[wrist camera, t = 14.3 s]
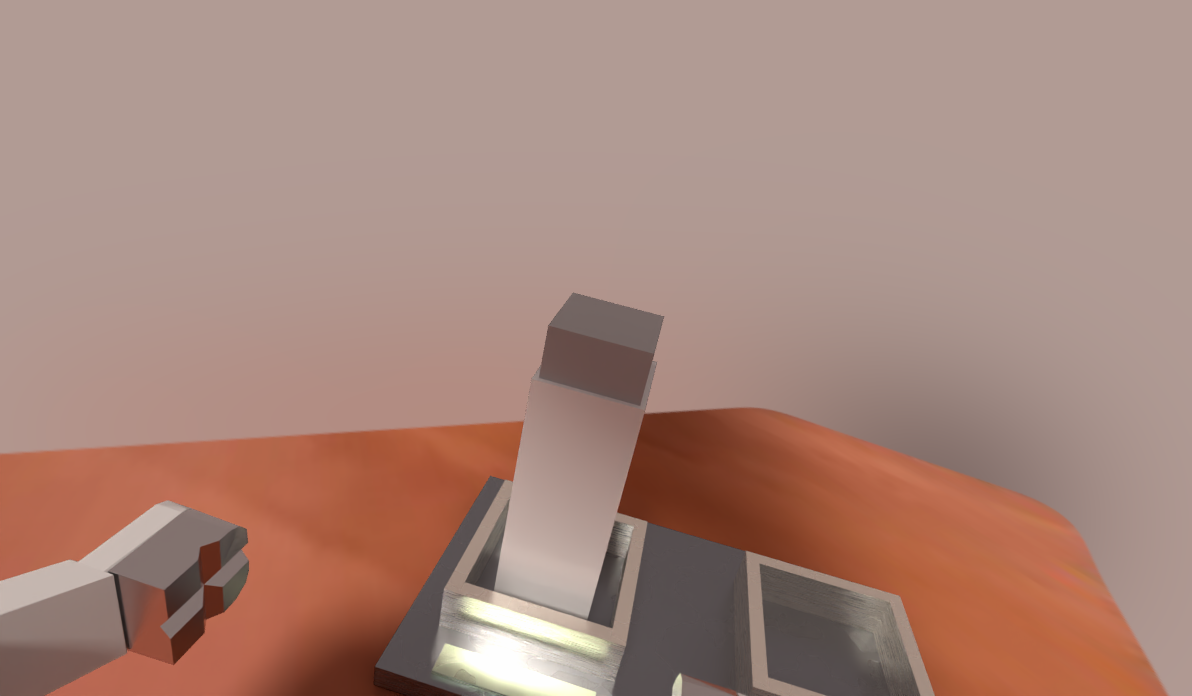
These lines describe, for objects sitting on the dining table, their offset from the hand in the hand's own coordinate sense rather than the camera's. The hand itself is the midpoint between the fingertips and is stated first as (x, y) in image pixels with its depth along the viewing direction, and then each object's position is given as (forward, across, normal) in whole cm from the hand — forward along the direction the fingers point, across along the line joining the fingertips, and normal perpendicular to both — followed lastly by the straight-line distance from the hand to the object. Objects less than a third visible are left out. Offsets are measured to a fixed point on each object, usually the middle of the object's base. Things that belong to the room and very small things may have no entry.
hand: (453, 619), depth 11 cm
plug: (+12, -1, +12) cm, 17 cm away
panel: (+12, -7, +13) cm, 19 cm away
